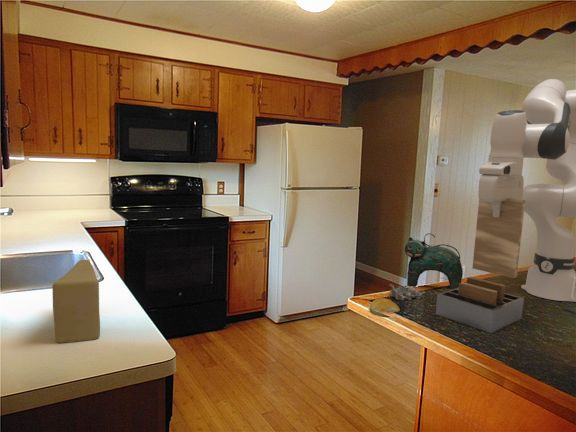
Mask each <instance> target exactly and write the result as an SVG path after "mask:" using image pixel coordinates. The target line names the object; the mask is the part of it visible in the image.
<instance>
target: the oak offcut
mask: <svg viewBox="0 0 576 432" xmlns="http://www.w3.org/2000/svg"><path fill="white" fill-rule="evenodd" d="M458 294H459V295H463V296H466V297H470V298H473V299H477V300H480V301H484V302H487V303H490V304H494V305H496V299H497V291H494V290H491V289H487V288H483V287H479V286H475V285H472V284H468V283H467V282H464V281H461V283H459V290H458Z"/></svg>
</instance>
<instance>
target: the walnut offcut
mask: <svg viewBox="0 0 576 432" xmlns="http://www.w3.org/2000/svg"><path fill="white" fill-rule="evenodd" d="M466 283H468V284H472V285H475V286H479V287H483V288H487V289H491V290H494V291H497V299H496V300H498V301H501V302H503V300H504V293H505V290H506V289H505V288H506V285H505V284H502V283H498V282H494V281H490V280H485V279H482V278H478V277H474V276H468V277H466Z"/></svg>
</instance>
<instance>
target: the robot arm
mask: <svg viewBox="0 0 576 432" xmlns="http://www.w3.org/2000/svg"><path fill="white" fill-rule="evenodd" d="M489 143H490V151H489V155H488V159H487V161H486V162H485V163H483V164H482V165H480V166H479V167H478V168H479V169H478V174H479V175H480V176H479V180H478V194H477V195H478V201H479V200H480V201H482V202H492V204H491V205H492V209H493V217H501V213H502V211H501V210H500V205H501V202H502V201H506V199H520V200H525V208H524V213H526V214H527V215H528V217H530V219H531V220H532V221H533V223H534V225H535V228H536V234H537V235H536V236H537V238H536V239H537V240H536V252H535V253H534V256H533V265H531V266H530V267H528V270H527V274H526V280H525V284H521V287H520V288H521V289H522V290H525V292H527V293H528V294H529V295H532V296H535V297H538V298H543V299H546V300H551V301H559V302H560V301H561V302H575V303H576V270H575V269H574V268H575V266H576V256H574V255H575V249H576V236H575V233H574V232H573V231H572V230H570V229H569V228H567V227H565V226H563V225H561V224H559V223H558V221H557V218H559V217H562V218H574V219H576V89H570V90H568V89H567V86H566V85H565V83H564V82H563V81H562V80H559V79H557V78H549V79H545V80H543V81H542V82H540V83H538V84H537V85H536V86H535V87H533V88H532V89H531V91H530V92H529V93H528V94H527V95H526V97H525V98H524V100H523V102H522V107H521V110H520V109H514V110H512V109H510V110H501V111H499V112H497V113H496V114H495V116H494V119H493V122H492V125H491V134H490V140H489ZM525 158H526V159H527V158H528V159H533V158H534V159H539V158H540V159H545V160H546V162H545V163H546V164H545V165H546V166H545V169H546V171H547V173H548V174H549V175H550V176H551V177H553V178H555V179H557V180H559V181H561V182H562V183H563V184H555V183H534V184H527V185H525V186H524V183H525V181H524V176H523V167H524V166H523V165H524V159H525Z"/></svg>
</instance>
